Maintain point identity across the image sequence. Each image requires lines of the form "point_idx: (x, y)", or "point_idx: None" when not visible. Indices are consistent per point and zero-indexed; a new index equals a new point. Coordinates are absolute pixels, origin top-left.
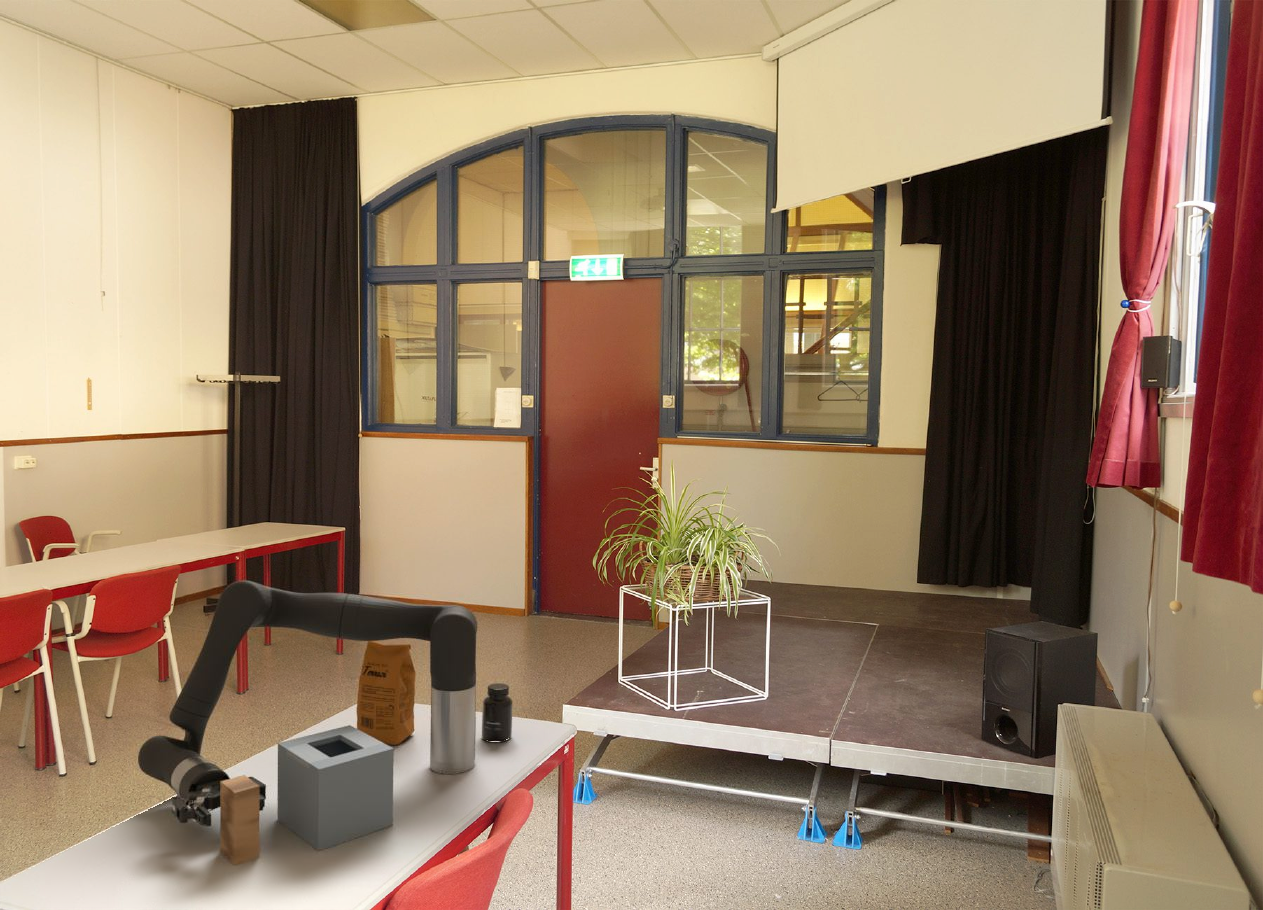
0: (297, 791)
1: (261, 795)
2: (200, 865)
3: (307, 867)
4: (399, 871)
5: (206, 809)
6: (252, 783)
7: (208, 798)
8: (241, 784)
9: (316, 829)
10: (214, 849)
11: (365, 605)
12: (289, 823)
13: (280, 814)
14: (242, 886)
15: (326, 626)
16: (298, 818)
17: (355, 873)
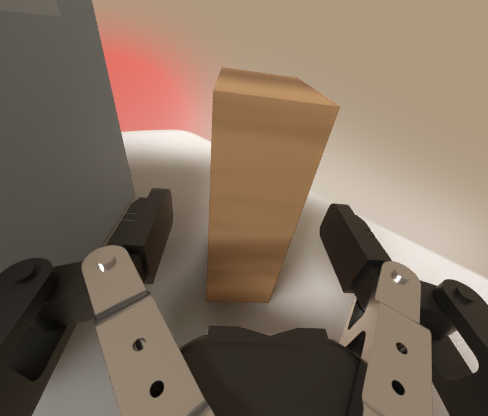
0: (45, 157)
1: (121, 223)
2: (316, 274)
3: (181, 177)
4: (125, 133)
5: (350, 227)
6: (230, 73)
7: (347, 350)
8: (264, 80)
9: (124, 166)
10: (277, 327)
11: None
12: None
13: None
14: None
15: None
16: (82, 223)
17: (155, 148)
